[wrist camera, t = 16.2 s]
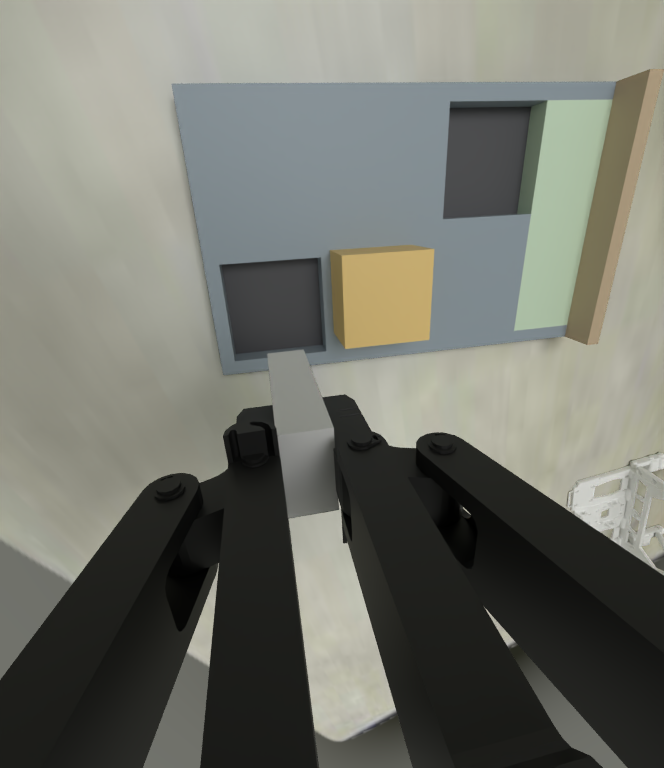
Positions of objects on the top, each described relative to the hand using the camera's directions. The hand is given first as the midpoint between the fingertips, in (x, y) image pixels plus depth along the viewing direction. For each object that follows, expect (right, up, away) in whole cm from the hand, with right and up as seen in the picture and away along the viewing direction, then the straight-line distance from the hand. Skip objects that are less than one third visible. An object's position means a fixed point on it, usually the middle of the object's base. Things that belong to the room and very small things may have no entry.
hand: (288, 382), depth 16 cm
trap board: (+8, +11, +14) cm, 19 cm away
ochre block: (+5, +7, +13) cm, 15 cm away
